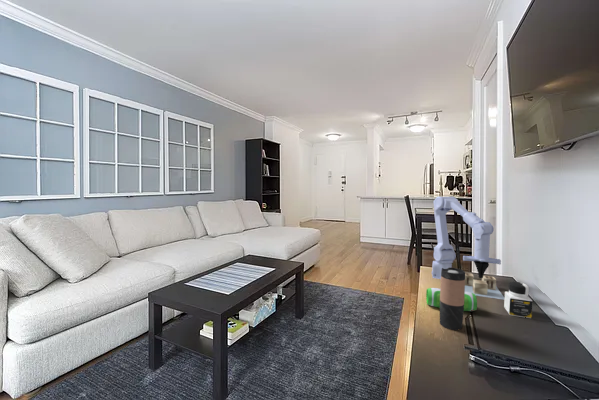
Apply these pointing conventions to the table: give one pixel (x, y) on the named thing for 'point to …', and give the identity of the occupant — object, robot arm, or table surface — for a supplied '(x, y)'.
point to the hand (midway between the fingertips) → (480, 277)
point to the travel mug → (452, 298)
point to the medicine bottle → (518, 300)
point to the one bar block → (469, 279)
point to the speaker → (434, 299)
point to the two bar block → (490, 282)
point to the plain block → (480, 287)
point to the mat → (490, 293)
